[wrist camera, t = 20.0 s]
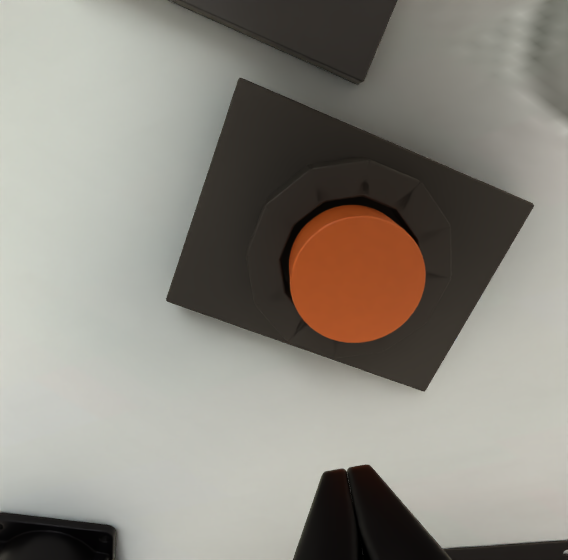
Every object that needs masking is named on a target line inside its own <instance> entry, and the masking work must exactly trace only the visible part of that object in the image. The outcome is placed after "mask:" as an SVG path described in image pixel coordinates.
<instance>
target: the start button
mask: <svg viewBox="0 0 568 560" xmlns="http://www.w3.org/2000/svg"><path fill="white" fill-rule="evenodd" d="M289 276H290V290H291V296H292V300H293V303H294V305H295V308H296V309H297V311H298V313H299V315H300V316H301V317H302V319H303V320H304V321H305V322H306V323H307V324H308V325H309V326H310V327H311V328H312V329H313V330H315V331H316V332H318V333H319V334H321V335H323V336H325V337H327V338H330V339H332V340H336V341H340V342H346V343H362V342H368V341H373V340H376V339H379V338H382V337H384V336H386V335H388V334H390V333H392V332H393V331H395V330H396V329H398V328H399V327H400V326H402V325H403V324H404V323H405V322H406V321H407V320H408V319H409V317H410V316H411V315H412V314H413V312H414V311H415V309H416V308H417V306H418V304H419V302H420V300H421V297H422V294H423V291H424V286H425V278H426V271H425V263H424V260H423V256H422V254H421V251H420V249H419V247H418V245H417V244H416V242H415V241H414V239H413V238H412V237H411V236H410V235H409V234H408V233H407V232H406V231H405V230H404V229H403V228H402V227H400V226H399V225H398V224H397V223H395V222H394V221H393V220H392V219H391V218H389V217H388V216H386V215H385V214H383V213H382V212H380V211H378V210H376V209H373V208H370V207H367V206H362V205H342V206H338V207H334V208H331V209H328V210H326V211H324V212H322V213H320V214H318V215H317V216H315V217H314V218H312V219H311V220H310V221H309V222H308V223H307V224H306V225H305V226H304V227H303V228H302V229H301V231H300V232H299V234H298V235H297V237H296V239H295V241H294V243H293V246H292V249H291V252H290V257H289Z"/></svg>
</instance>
